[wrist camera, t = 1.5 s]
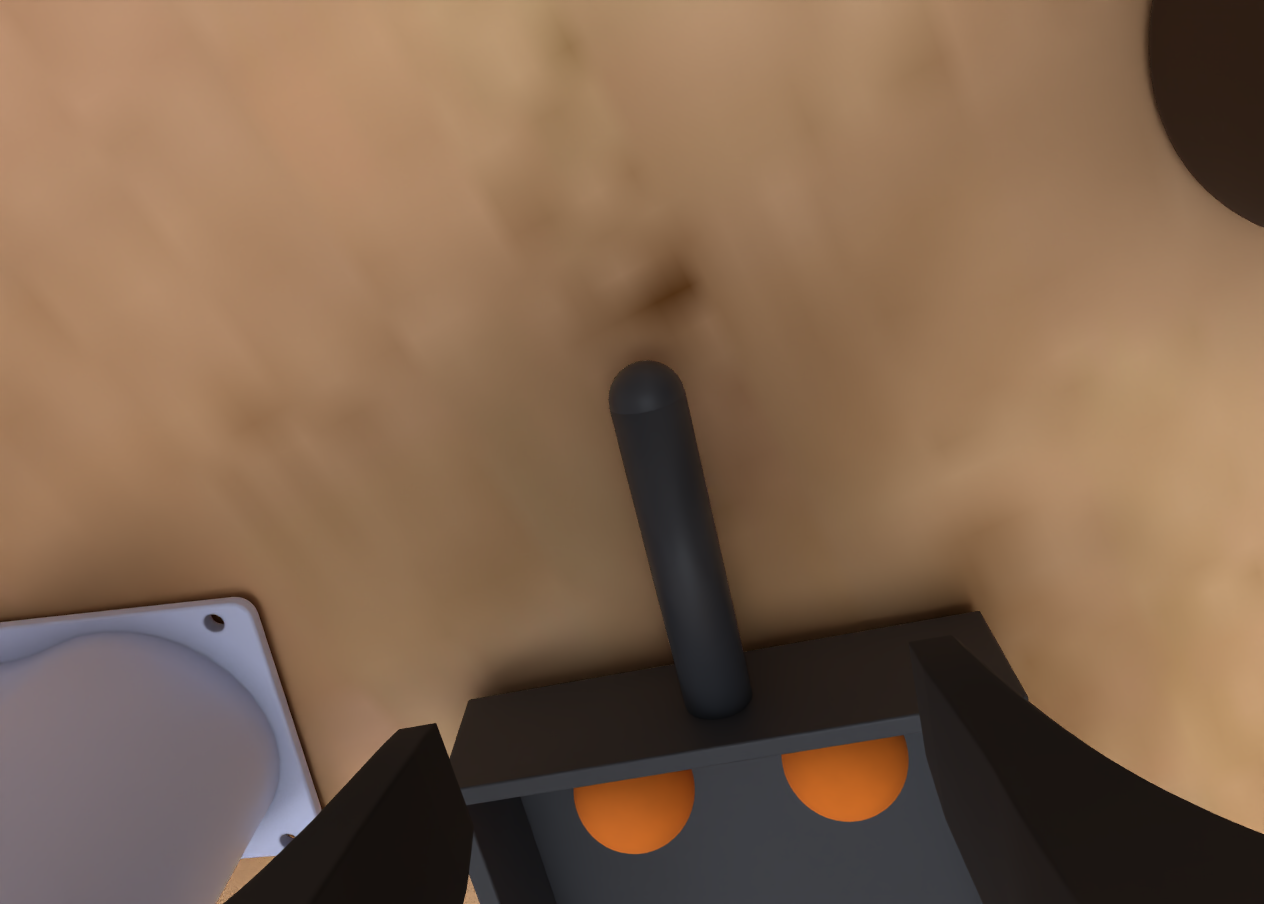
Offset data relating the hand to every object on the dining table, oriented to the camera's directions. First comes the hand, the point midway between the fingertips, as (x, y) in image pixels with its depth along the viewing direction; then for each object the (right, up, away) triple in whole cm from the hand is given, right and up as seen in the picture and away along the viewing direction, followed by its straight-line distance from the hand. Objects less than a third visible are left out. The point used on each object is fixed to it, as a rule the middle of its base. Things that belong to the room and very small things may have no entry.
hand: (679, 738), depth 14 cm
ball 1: (-1, -4, +10) cm, 10 cm away
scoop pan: (+2, -2, +11) cm, 11 cm away
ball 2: (+4, -3, +9) cm, 10 cm away
